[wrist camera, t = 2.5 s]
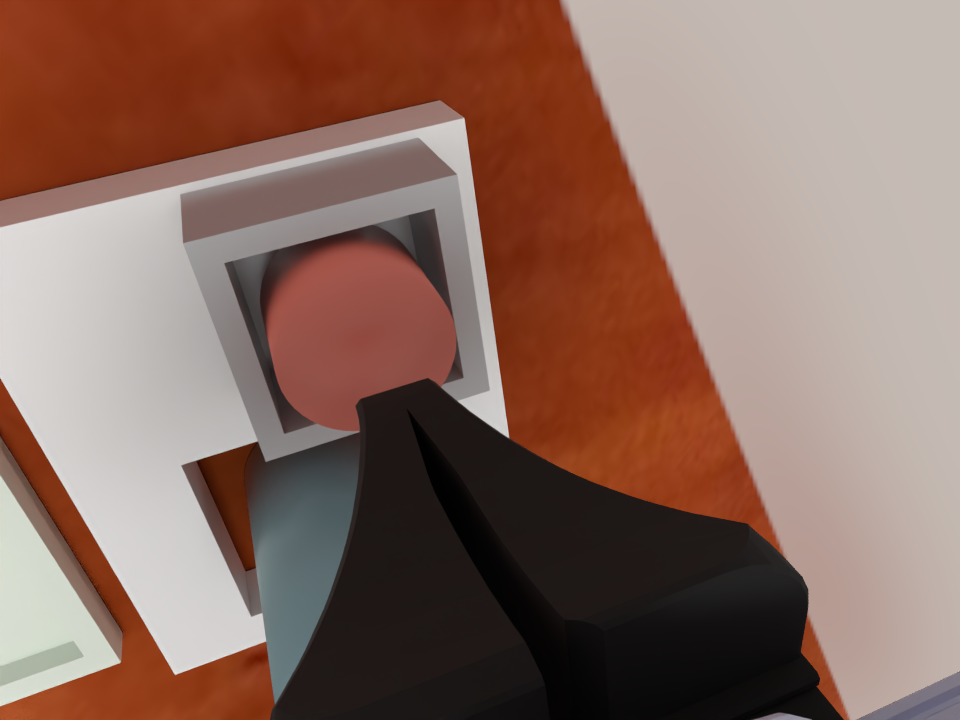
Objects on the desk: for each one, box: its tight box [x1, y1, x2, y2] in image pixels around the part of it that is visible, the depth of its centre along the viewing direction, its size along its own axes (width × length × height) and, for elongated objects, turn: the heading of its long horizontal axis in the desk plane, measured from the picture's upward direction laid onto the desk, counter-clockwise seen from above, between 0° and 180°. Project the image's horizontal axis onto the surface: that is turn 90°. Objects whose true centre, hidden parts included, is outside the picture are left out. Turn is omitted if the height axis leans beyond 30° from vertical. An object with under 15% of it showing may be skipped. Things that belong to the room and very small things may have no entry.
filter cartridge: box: [244, 432, 360, 704], centre depth 21 cm, size 4×4×8 cm
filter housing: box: [0, 100, 509, 675], centre depth 21 cm, size 15×12×5 cm
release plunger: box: [260, 225, 456, 431], centre depth 17 cm, size 4×4×3 cm
